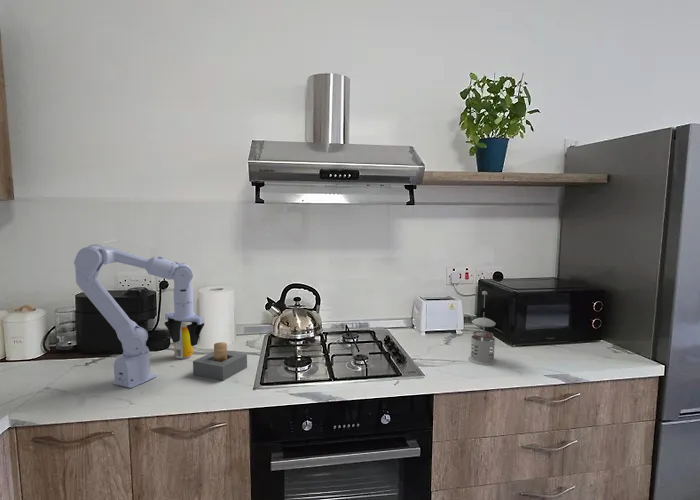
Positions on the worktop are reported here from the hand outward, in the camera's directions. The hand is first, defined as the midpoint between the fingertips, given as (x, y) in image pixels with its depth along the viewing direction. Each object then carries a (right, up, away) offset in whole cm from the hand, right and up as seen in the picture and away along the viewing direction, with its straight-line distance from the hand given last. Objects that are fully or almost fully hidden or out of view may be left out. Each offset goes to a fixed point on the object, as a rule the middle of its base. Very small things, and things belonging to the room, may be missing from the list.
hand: (185, 343), depth 132 cm
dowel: (+11, -9, +3) cm, 14 cm away
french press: (+100, -9, +14) cm, 102 cm away
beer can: (-7, -9, +16) cm, 19 cm away
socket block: (+11, -10, +3) cm, 15 cm away
